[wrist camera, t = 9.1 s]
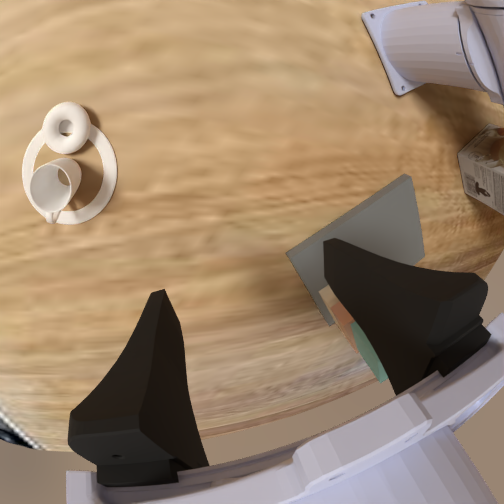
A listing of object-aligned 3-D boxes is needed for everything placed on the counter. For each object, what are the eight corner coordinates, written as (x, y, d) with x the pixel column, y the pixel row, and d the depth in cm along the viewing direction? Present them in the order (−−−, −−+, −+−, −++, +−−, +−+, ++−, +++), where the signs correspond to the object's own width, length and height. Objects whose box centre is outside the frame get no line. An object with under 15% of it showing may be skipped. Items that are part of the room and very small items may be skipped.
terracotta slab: (378, 273, 25) (394, 289, 23) (387, 306, 28) (401, 321, 26) (330, 307, 25) (343, 325, 23) (345, 336, 28) (356, 353, 26)
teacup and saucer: (60, 89, 14) (37, 88, 11) (145, 143, 18) (139, 153, 15) (11, 191, 16) (-13, 211, 13) (87, 239, 20) (75, 266, 17)
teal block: (392, 297, 23) (422, 329, 19) (394, 325, 26) (420, 355, 22) (350, 324, 23) (377, 361, 19) (357, 349, 26) (380, 383, 22)
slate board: (404, 173, 24) (411, 176, 24) (419, 252, 30) (424, 256, 30) (285, 253, 25) (289, 258, 24) (325, 320, 31) (329, 326, 30)
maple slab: (364, 259, 27) (378, 273, 25) (375, 293, 30) (387, 306, 28) (318, 291, 27) (330, 307, 25) (334, 321, 30) (345, 336, 28)
